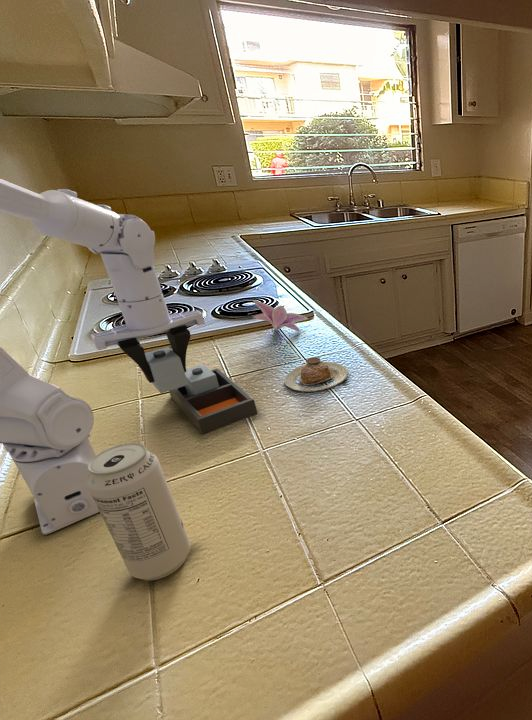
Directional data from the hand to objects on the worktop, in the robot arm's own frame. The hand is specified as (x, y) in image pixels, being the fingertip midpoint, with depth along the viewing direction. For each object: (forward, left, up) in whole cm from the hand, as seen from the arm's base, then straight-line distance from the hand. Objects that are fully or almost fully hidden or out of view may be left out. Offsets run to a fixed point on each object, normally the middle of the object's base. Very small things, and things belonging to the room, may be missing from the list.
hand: (167, 375), depth 76 cm
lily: (+22, -28, -9) cm, 37 cm away
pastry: (-4, -23, -9) cm, 25 cm away
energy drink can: (-31, +11, -9) cm, 34 cm away
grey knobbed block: (0, 0, -1) cm, 1 cm away
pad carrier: (0, -5, -8) cm, 10 cm away
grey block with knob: (+4, -5, -8) cm, 10 cm away
